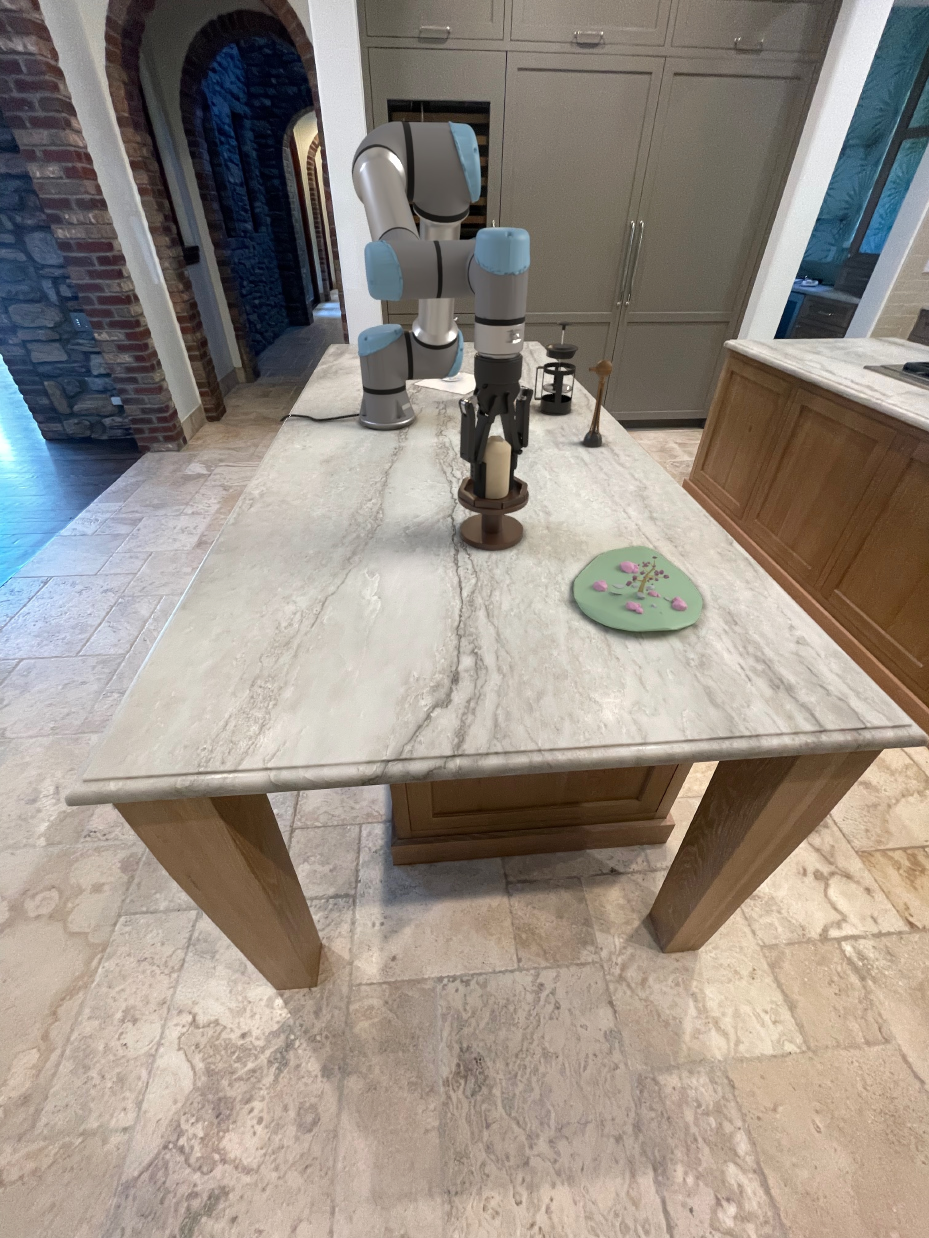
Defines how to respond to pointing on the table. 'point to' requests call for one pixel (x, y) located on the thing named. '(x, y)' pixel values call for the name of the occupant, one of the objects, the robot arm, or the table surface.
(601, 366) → the wooden tabletop sculpture
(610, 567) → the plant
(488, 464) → the candle
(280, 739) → the table surface
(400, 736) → the table surface
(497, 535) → the candle stand
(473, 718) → the table surface
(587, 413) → the table surface
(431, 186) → the robot arm
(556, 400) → the french press
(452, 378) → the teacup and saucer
